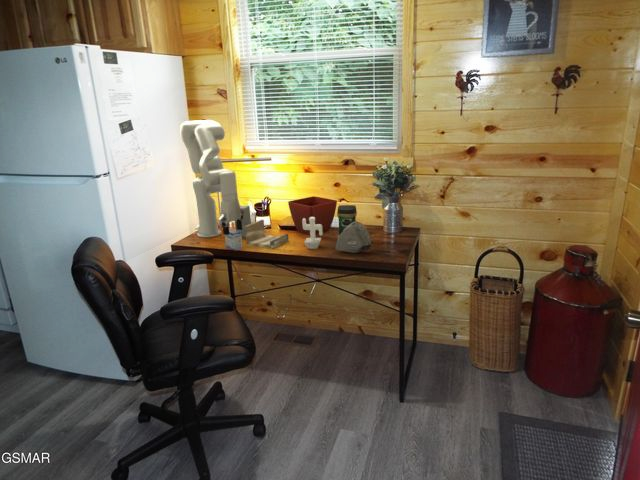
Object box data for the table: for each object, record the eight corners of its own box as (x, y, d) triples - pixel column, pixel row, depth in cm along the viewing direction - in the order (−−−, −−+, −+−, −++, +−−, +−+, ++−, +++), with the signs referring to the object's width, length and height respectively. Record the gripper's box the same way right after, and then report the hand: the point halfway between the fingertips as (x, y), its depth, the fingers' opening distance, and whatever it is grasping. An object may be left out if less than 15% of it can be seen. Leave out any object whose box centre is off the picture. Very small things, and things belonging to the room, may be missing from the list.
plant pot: (314, 224, 265) (313, 195, 260) (338, 230, 251) (337, 200, 246) (288, 231, 253) (287, 201, 248) (312, 238, 239) (310, 206, 234)
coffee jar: (358, 239, 235) (357, 203, 230) (356, 244, 228) (356, 207, 222) (339, 239, 237) (338, 203, 232) (336, 243, 230) (335, 207, 224)
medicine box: (225, 247, 229) (224, 230, 227) (233, 245, 233) (231, 228, 230) (235, 250, 224) (233, 233, 222) (242, 248, 227) (241, 231, 225)
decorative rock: (372, 251, 217) (372, 220, 213) (369, 255, 211) (369, 224, 207) (338, 249, 222) (337, 218, 217) (334, 253, 216) (333, 222, 211)
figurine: (322, 249, 221) (321, 219, 217) (302, 249, 223) (301, 219, 218) (323, 245, 228) (322, 215, 224) (304, 245, 229) (303, 215, 225)
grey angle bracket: (246, 244, 233) (244, 226, 230) (263, 237, 245) (261, 219, 242) (273, 248, 225) (271, 229, 222) (288, 240, 237) (288, 222, 234)
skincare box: (247, 238, 244) (245, 208, 239) (234, 237, 245) (232, 208, 240) (253, 233, 252) (250, 204, 247) (240, 233, 253) (238, 204, 248)
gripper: (235, 193, 230) (238, 227, 234) (211, 200, 215) (215, 236, 220) (247, 194, 226) (250, 228, 231) (223, 201, 212) (227, 237, 217)
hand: (233, 232), depth 226 cm, fingers open, 9 cm apart
